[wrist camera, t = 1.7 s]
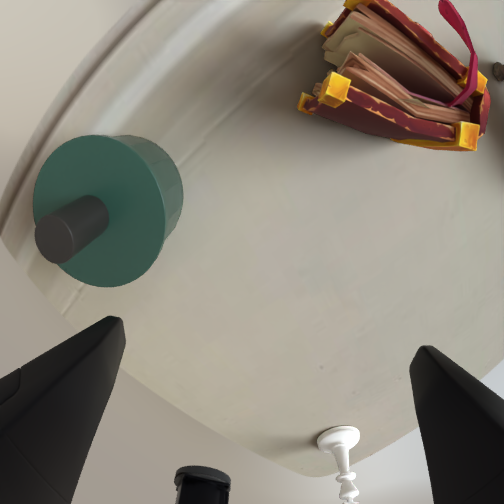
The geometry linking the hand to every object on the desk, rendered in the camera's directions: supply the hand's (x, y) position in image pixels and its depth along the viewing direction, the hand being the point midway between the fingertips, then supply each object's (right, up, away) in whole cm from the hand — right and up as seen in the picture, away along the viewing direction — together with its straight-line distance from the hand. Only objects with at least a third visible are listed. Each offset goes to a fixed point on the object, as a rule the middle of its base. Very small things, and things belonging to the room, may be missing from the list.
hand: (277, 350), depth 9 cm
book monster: (+8, +15, +9) cm, 20 cm away
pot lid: (-10, +5, +8) cm, 14 cm away
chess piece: (+9, -18, +23) cm, 30 cm away
